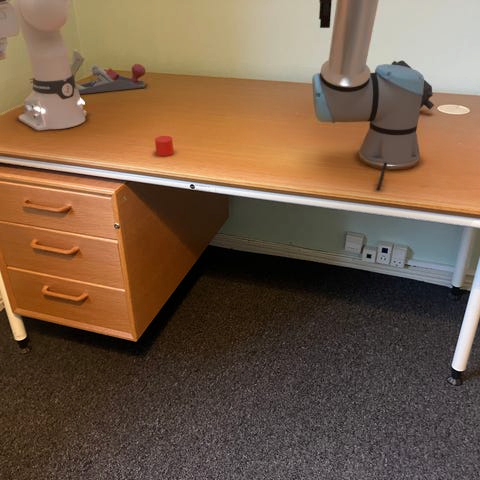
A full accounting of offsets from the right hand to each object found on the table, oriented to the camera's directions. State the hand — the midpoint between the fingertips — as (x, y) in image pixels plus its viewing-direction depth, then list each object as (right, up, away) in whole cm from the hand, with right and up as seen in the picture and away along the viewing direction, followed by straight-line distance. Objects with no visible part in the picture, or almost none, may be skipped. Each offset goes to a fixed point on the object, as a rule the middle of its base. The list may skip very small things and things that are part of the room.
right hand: (324, 23), depth 154 cm
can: (-45, -39, -9) cm, 60 cm away
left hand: (-82, -23, -34) cm, 92 cm away
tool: (+28, -20, +19) cm, 39 cm away
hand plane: (-75, -7, +44) cm, 87 cm away
